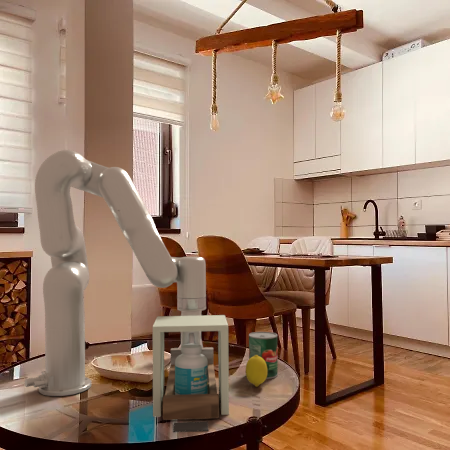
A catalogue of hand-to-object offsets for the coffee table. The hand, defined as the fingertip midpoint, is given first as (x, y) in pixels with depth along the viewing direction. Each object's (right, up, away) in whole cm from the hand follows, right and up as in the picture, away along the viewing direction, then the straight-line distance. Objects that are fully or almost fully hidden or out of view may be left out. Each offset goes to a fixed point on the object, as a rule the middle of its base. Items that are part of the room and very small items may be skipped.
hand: (192, 373), depth 123 cm
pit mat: (+2, -2, -29) cm, 29 cm away
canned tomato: (+19, -2, +5) cm, 20 cm away
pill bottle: (+1, -2, -17) cm, 17 cm away
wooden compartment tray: (+1, -1, -10) cm, 10 cm away
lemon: (+17, -2, -4) cm, 17 cm away
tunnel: (+1, -2, -17) cm, 17 cm away
